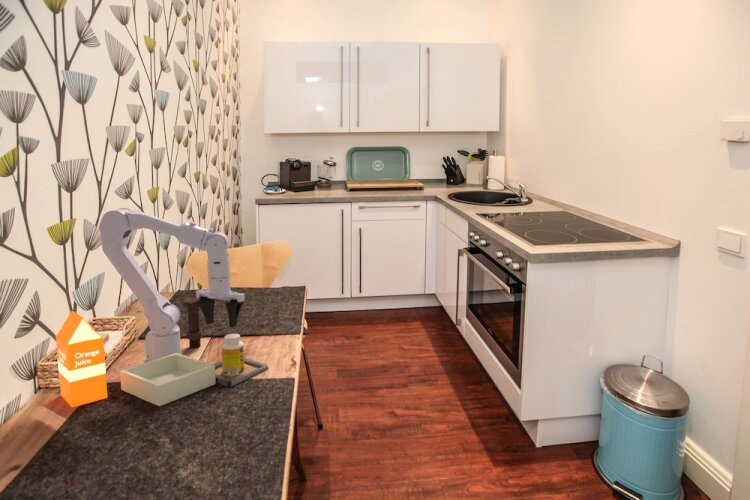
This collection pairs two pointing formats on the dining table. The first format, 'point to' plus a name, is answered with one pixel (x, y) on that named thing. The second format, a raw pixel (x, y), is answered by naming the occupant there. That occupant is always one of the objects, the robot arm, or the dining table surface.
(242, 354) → the supplement bottle
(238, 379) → the socket collar
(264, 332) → the dining table surface
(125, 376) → the bin
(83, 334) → the orange juice
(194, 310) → the bolt
